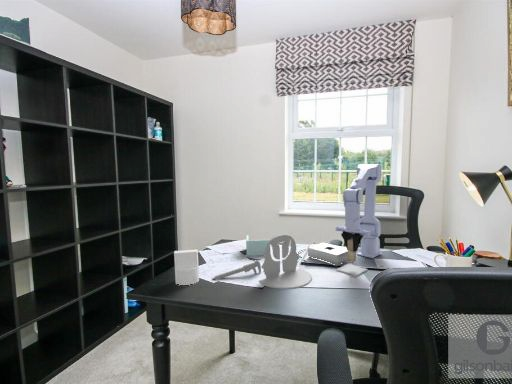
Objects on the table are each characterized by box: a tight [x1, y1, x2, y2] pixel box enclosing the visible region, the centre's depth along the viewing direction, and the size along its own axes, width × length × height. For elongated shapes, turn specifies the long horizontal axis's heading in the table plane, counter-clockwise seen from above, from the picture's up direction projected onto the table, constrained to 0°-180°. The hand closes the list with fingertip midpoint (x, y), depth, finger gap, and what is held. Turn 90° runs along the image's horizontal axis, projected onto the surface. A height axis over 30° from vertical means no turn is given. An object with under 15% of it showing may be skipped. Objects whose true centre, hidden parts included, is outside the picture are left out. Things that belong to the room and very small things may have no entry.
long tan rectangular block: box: [347, 239, 357, 263], centre depth 115 cm, size 2×2×9 cm
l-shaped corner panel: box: [245, 234, 272, 256], centre depth 144 cm, size 12×12×8 cm
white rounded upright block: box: [173, 249, 200, 286], centre depth 109 cm, size 9×9×12 cm
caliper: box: [211, 258, 262, 280], centre depth 112 cm, size 20×1×6 cm, turn 107°
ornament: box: [258, 234, 313, 290], centre depth 106 cm, size 22×13×17 cm, turn 123°
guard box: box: [307, 242, 348, 267], centre depth 131 cm, size 12×16×5 cm
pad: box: [336, 263, 368, 277], centre depth 116 cm, size 9×9×1 cm
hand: (352, 250), depth 115 cm, fingers closed on long tan rectangular block, 2 cm apart
